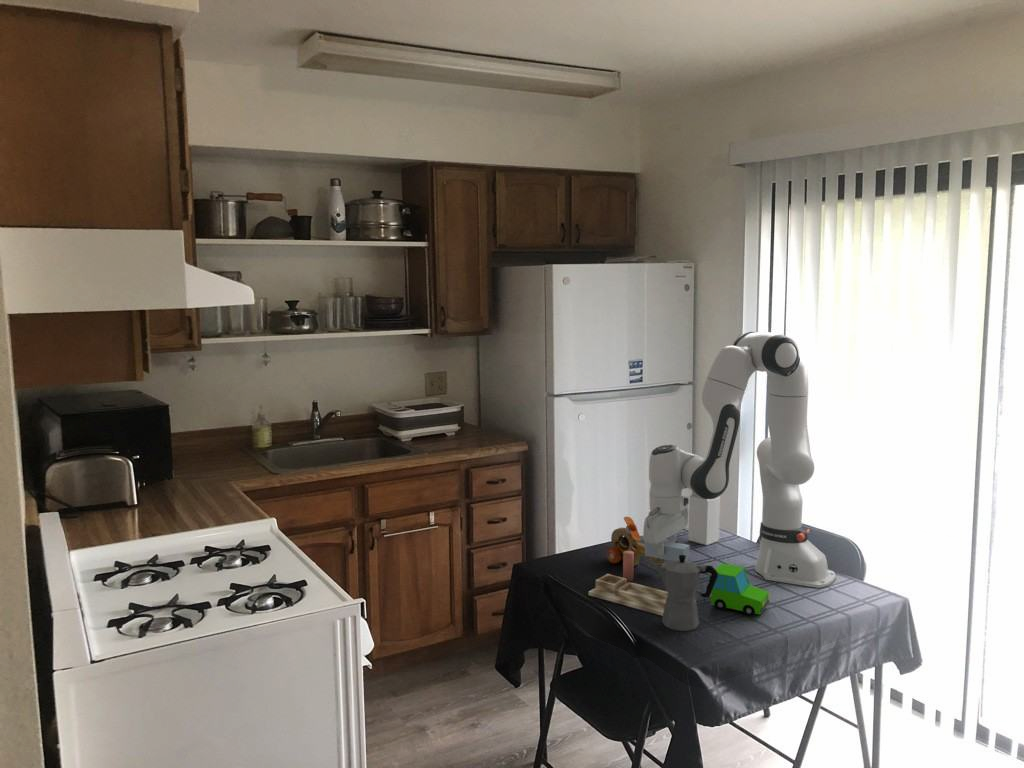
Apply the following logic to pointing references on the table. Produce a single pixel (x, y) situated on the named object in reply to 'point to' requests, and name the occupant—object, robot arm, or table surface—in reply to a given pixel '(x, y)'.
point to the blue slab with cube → (669, 551)
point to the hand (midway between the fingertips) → (666, 551)
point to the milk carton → (704, 519)
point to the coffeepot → (683, 592)
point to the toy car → (737, 591)
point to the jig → (630, 594)
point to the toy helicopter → (628, 544)
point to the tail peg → (628, 565)
